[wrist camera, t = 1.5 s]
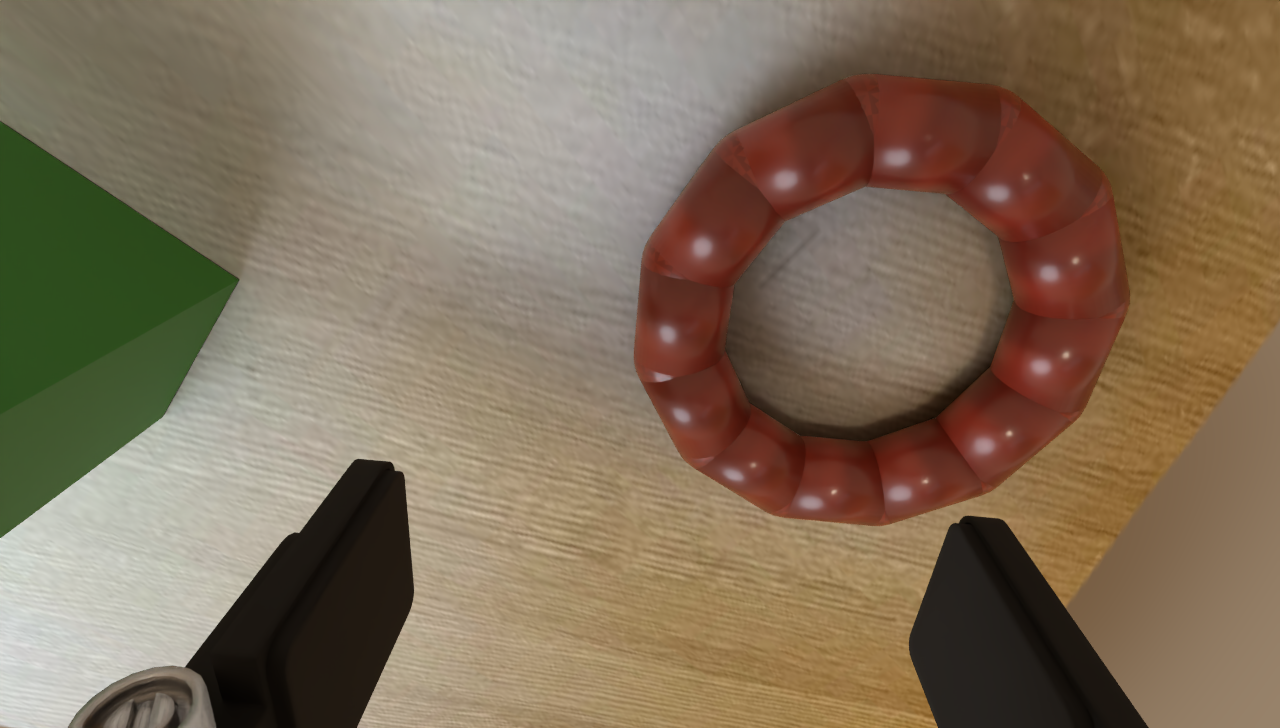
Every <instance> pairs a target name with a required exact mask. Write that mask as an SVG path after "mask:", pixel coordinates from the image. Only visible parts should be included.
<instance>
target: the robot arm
mask: <svg viewBox="0 0 1280 728" xmlns="http://www.w3.org/2000/svg"><path fill="white" fill-rule="evenodd" d="M413 596H414V584H413V572H412V560H411V548H410V537H409V525H408V513H407V502H406V490H405V479H404V474H403V472H401V471H395V469H394V466H393V464H392V463H391V462H386V461H375V460H364V459H357V460H355V461H354V462H353V463H352V464H351V465H350V466H349V468H348V469H347V470H346V472H345V473H344V474H343V476H342V477H341V478H340V480H339V481H338V482H337V484H336V485H335V486H334V488H333V489H332V490H331V492H330V493H329V494H328V496H327V497H326V498H325V500H324V501H323V502H322V504H321V505H320V506H319V508H318V509H317V510H316V512H315V513H314V514H313V516H312V517H311V518H310V520H309V521H308V522H307V524H306V525H305V526H304V528H303V529H302V530H301V532H300V533H293V534H290V535H288V536H287V537H286V538H285V539H284V540H283V541H282V542H281V544H280V545H279V546H278V547H277V549H276V550H275V551H274V553H273V554H272V555H271V556H270V558H269V559H268V560H267V562H266V563H265V564H264V566H263V567H262V568H261V569H260V571H259V572H258V573H257V575H256V576H255V577H254V578H253V580H252V581H251V582H250V584H249V585H248V586H247V588H246V589H245V590H244V591H243V593H242V594H241V595H240V597H239V598H238V599H237V600H236V602H235V603H234V604H233V606H232V607H231V608H230V609H229V611H228V612H227V613H226V615H225V616H224V617H223V619H222V620H221V621H220V622H219V624H218V625H217V626H216V628H215V629H214V630H213V631H212V633H211V634H210V635H209V637H208V638H207V639H206V641H205V642H204V643H203V644H202V646H201V647H200V648H199V650H198V651H197V652H196V653H195V655H194V656H193V657H192V659H191V660H190V661H189V662H188V664H187V665H186V666H185V668H184V667H178V666H164V667H154V668H150V669H147V670H143V671H140V672H137V673H133V674H131V675H129V676H127V677H125V678H123V679H121V680H119V681H117V682H115V683H112V684H111V685H109V686H108V687H107V688H105V689H104V690H102V691H101V692H99V693H98V694H97V695H95V696H94V697H92V698H91V699H90V700H89V701H88V702H87V703H86V704H85V705H84V706H83V707H82V708H81V709H80V710H79V711H78V712H77V713H76V715H75V716H74V718H73V720H72V721H71V723H70V725H69V726H68V728H357V726H358V724H359V722H360V719H361V717H362V715H363V713H364V711H365V708H366V706H367V704H368V702H369V700H370V697H371V695H372V693H373V691H374V689H375V687H376V684H377V682H378V680H379V678H380V676H381V673H382V671H383V669H384V667H385V665H386V662H387V660H388V658H389V656H390V654H391V651H392V649H393V647H394V645H395V643H396V640H397V638H398V636H399V634H400V632H401V629H402V627H403V625H404V623H405V621H406V618H407V616H408V614H409V612H410V609H411V606H412V602H413ZM909 651H910V656H911V659H912V662H913V665H914V667H915V670H916V672H917V675H918V677H919V680H920V682H921V685H922V688H923V690H924V693H925V695H926V698H927V700H928V703H929V705H930V708H931V711H932V713H933V716H934V718H935V721H936V723H937V726H938V728H1148V726H1147V725H1146V723H1145V722H1144V720H1143V719H1142V718H1141V716H1140V715H1139V713H1138V712H1137V710H1136V709H1135V708H1134V706H1133V705H1132V703H1131V702H1130V700H1129V699H1128V697H1127V696H1126V695H1125V693H1124V692H1123V690H1122V689H1121V687H1120V686H1119V685H1118V683H1117V682H1116V680H1115V679H1114V677H1113V676H1112V675H1111V673H1110V672H1109V670H1108V669H1107V667H1106V666H1105V664H1104V663H1103V662H1102V661H1101V659H1100V658H1099V656H1098V654H1097V653H1096V652H1095V650H1094V649H1093V647H1092V646H1091V644H1090V643H1089V641H1088V640H1087V639H1086V637H1085V636H1084V634H1083V633H1082V631H1081V630H1080V629H1079V627H1078V626H1077V624H1076V623H1075V621H1074V620H1073V619H1072V617H1071V616H1070V614H1069V613H1068V612H1067V610H1066V608H1065V607H1064V606H1063V604H1062V603H1061V601H1060V600H1059V598H1058V597H1057V596H1056V594H1055V593H1054V591H1053V590H1052V588H1051V587H1050V585H1049V584H1048V583H1047V581H1046V580H1045V578H1044V577H1043V575H1042V574H1041V573H1040V571H1039V570H1038V568H1037V567H1036V565H1035V564H1034V562H1033V561H1032V560H1031V558H1030V557H1029V555H1028V554H1027V552H1026V551H1025V550H1024V548H1023V547H1022V545H1021V544H1020V542H1019V541H1018V540H1017V538H1016V537H1015V535H1014V534H1013V532H1012V531H1011V529H1010V528H1009V527H1008V525H1007V524H1006V523H1005V522H1004V521H1003V520H1001V519H997V518H986V517H976V516H964V517H963V518H962V519H961V520H960V522H959V524H958V523H954V524H952V525H951V526H950V527H949V529H948V532H947V535H946V537H945V540H944V543H943V546H942V548H941V551H940V554H939V557H938V559H937V562H936V565H935V568H934V570H933V573H932V576H931V579H930V581H929V584H928V587H927V590H926V593H925V595H924V598H923V601H922V604H921V606H920V609H919V612H918V615H917V617H916V620H915V623H914V626H913V628H912V631H911V634H910V638H909Z"/></svg>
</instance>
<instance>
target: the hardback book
mask: <svg viewBox="0 0 1280 728" xmlns="http://www.w3.org/2000/svg"><path fill="white" fill-rule="evenodd" d="M238 281H239V279H237V278H236V277H234V276H232V275H231V274H229V273H228V272H226V271H225V270H223V269H222V268H220V267H219V266H217V265H216V264H214V263H213V262H211V261H210V260H208V259H207V258H205V257H204V256H202V255H201V254H199V253H198V252H196V251H195V250H193V249H192V248H190V247H189V246H187V245H186V244H184V243H183V242H181V241H180V240H178V239H177V238H175V237H174V236H172V235H171V234H169V233H168V232H166V231H165V230H163V229H162V228H160V227H159V226H157V225H156V224H154V223H153V222H151V221H150V220H148V219H147V218H145V217H144V216H142V215H141V214H139V213H137V212H136V211H134V210H133V209H131V208H130V207H128V206H127V205H125V204H124V203H122V202H121V201H119V200H118V199H116V198H115V197H113V196H112V195H110V194H109V193H107V192H106V191H104V190H103V189H101V188H100V187H98V186H97V185H95V184H94V183H92V182H91V181H89V180H88V179H86V178H85V177H83V176H82V175H80V174H79V173H77V172H76V171H74V170H73V169H71V168H70V167H68V166H67V165H65V164H64V163H62V162H61V161H59V160H58V159H56V158H55V157H53V156H52V155H50V154H49V153H47V152H46V151H44V150H42V149H41V148H39V147H38V146H36V145H35V144H33V143H32V142H30V141H29V140H27V139H26V138H24V137H23V136H21V135H20V134H18V133H17V132H15V131H14V130H12V129H11V128H9V127H8V126H6V125H5V124H3V123H2V122H0V538H1V537H3V536H4V535H5V534H7V533H8V532H9V531H11V530H12V529H13V528H15V527H16V526H17V525H19V524H20V523H21V522H23V521H24V520H25V519H27V518H28V517H29V516H31V515H32V514H33V513H35V512H36V511H37V510H39V509H40V508H41V507H43V506H44V505H45V504H47V503H48V502H49V501H51V500H52V499H53V498H55V497H56V496H57V495H59V494H60V493H61V492H63V491H64V490H65V489H67V488H68V487H69V486H71V485H72V484H73V483H75V482H76V481H78V480H79V479H80V478H82V477H83V476H84V475H86V474H87V473H88V472H90V471H91V470H92V469H94V468H95V467H96V466H98V465H99V464H100V463H102V462H103V461H104V460H106V459H107V458H108V457H110V456H111V455H112V454H114V453H115V452H116V451H118V450H119V449H120V448H122V447H123V446H124V445H126V444H127V443H128V442H130V441H131V440H132V439H134V438H135V437H136V436H138V435H139V434H140V433H142V432H143V431H144V430H146V429H147V428H148V427H150V426H151V425H152V424H154V423H155V422H156V421H158V420H159V419H160V418H162V417H163V415H164V413H165V412H166V410H167V408H168V406H169V404H170V403H171V401H172V399H173V397H174V395H175V394H176V392H177V390H178V388H179V386H180V385H181V383H182V381H183V379H184V378H185V376H186V374H187V372H188V370H189V369H190V367H191V365H192V363H193V361H194V360H195V358H196V356H197V354H198V352H199V351H200V349H201V347H202V345H203V344H204V342H205V340H206V338H207V336H208V335H209V333H210V331H211V329H212V327H213V326H214V324H215V322H216V320H217V318H218V317H219V315H220V313H221V311H222V310H223V308H224V306H225V304H226V302H227V301H228V299H229V297H230V295H231V293H232V292H233V290H234V288H235V286H236V284H237V283H238Z"/></svg>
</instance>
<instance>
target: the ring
mask: <svg viewBox="0 0 1280 728" xmlns="http://www.w3.org/2000/svg"><path fill="white" fill-rule="evenodd" d="M863 187H876V188H887V189H898V190H909V191H920V192H931V193H942V194H946V195H947V196H948V197H950V198H951V199H952V200H953V201H955V202H956V203H957V204H958V205H960V206H961V207H962V208H963V209H965V210H966V211H967V212H968V213H970V214H971V215H972V216H973V217H975V218H976V219H977V220H978V221H979V222H981V223H982V224H983V225H984V226H986V227H987V228H988V229H989V230H991V231H992V232H993V233H994V234H996V235H997V236H998V238H999V242H1000V246H1001V250H1002V254H1003V258H1004V262H1005V266H1006V270H1007V274H1008V278H1009V282H1010V286H1011V290H1012V294H1013V297H1014V301H1013V304H1012V307H1011V310H1010V313H1009V316H1008V318H1007V321H1006V324H1005V327H1004V330H1003V333H1002V335H1001V338H1000V341H999V344H998V347H997V350H996V352H995V355H994V358H993V361H992V364H991V366H990V367H989V368H988V369H987V370H986V371H985V372H984V373H983V374H982V375H981V376H980V377H979V378H978V379H977V380H976V381H974V382H973V383H972V384H971V385H970V386H969V387H968V388H967V389H966V390H965V391H964V392H963V393H962V394H961V395H960V396H958V397H957V398H956V399H955V400H954V401H953V402H952V403H951V404H950V405H949V406H948V407H947V408H946V409H945V410H944V411H943V412H941V413H940V414H939V415H938V416H937V417H936V418H933V419H930V420H928V421H925V422H922V423H919V424H916V425H913V426H910V427H907V428H904V429H902V430H899V431H896V432H893V433H890V434H887V435H884V436H881V437H878V438H875V439H873V440H870V441H867V442H865V441H855V440H844V439H833V438H823V437H812V436H801V435H798V434H797V433H795V432H793V431H792V430H790V429H789V428H787V427H786V426H784V425H783V424H781V423H780V422H778V421H777V420H775V419H774V418H772V417H770V416H769V415H767V414H766V413H764V412H763V411H761V410H760V409H758V408H757V407H755V406H754V405H752V404H751V403H749V401H748V399H747V397H746V395H745V393H744V390H743V388H742V386H741V384H740V382H739V380H738V377H737V375H736V373H735V371H734V369H733V366H732V364H731V362H730V360H729V358H728V356H727V353H726V351H725V345H726V338H727V332H728V325H729V318H730V312H731V305H732V299H733V292H734V286H735V283H736V282H737V281H738V279H739V278H740V277H741V276H742V274H743V273H744V272H745V271H746V269H747V268H748V267H749V266H750V264H751V263H752V262H753V261H754V259H755V258H756V257H757V256H758V254H759V253H760V252H761V251H762V249H763V248H764V247H765V246H766V245H767V243H768V242H769V241H770V240H771V238H772V237H773V236H774V235H775V233H776V232H777V231H778V230H779V228H780V227H781V226H782V225H783V223H784V222H785V221H787V220H789V219H792V218H794V217H796V216H799V215H801V214H803V213H805V212H808V211H810V210H812V209H815V208H817V207H819V206H822V205H824V204H826V203H828V202H831V201H833V200H835V199H838V198H840V197H842V196H845V195H847V194H849V193H851V192H854V191H856V190H858V189H861V188H863ZM1129 304H1130V291H1129V285H1128V279H1127V273H1126V267H1125V262H1124V256H1123V250H1122V244H1121V238H1120V233H1119V227H1118V221H1117V215H1116V209H1115V204H1114V198H1113V192H1112V188H1111V185H1110V182H1109V180H1108V178H1107V176H1106V175H1105V174H1104V172H1103V171H1102V170H1101V169H1100V168H1099V167H1098V166H1097V165H1096V164H1095V163H1094V162H1092V161H1091V160H1090V159H1089V158H1088V157H1087V156H1086V155H1084V154H1083V153H1082V152H1081V151H1080V150H1079V149H1078V148H1077V147H1075V146H1074V145H1073V144H1072V143H1071V142H1070V141H1069V140H1067V139H1066V138H1065V137H1064V136H1063V135H1062V134H1061V133H1059V132H1058V131H1057V130H1056V129H1055V128H1054V127H1053V126H1051V125H1050V124H1049V123H1048V122H1047V121H1046V120H1045V119H1043V118H1042V117H1041V116H1040V115H1039V114H1038V113H1037V112H1035V111H1034V110H1033V109H1032V108H1031V107H1030V106H1029V105H1027V104H1026V103H1025V102H1024V101H1023V100H1022V99H1021V98H1019V97H1018V96H1017V95H1016V94H1014V93H1013V92H1011V91H1009V90H1007V89H1005V88H1002V87H1000V86H997V85H990V84H981V83H970V82H958V81H947V80H936V79H925V78H914V77H903V76H892V75H881V74H859V75H853V76H850V77H847V78H845V79H842V80H840V81H838V82H835V83H833V84H831V85H829V86H827V87H825V88H823V89H821V90H819V91H817V92H814V93H812V94H810V95H808V96H806V97H804V98H802V99H800V100H798V101H796V102H793V103H791V104H789V105H787V106H785V107H783V108H781V109H779V110H777V111H775V112H772V113H770V114H768V115H766V116H764V117H762V118H760V119H758V120H756V121H754V122H751V123H749V124H747V125H745V126H743V127H741V128H739V129H737V130H735V131H733V132H731V133H729V134H728V135H726V136H725V137H724V138H723V139H721V140H720V141H719V142H718V143H717V145H716V146H715V147H714V148H713V150H712V151H711V152H710V154H709V155H708V157H707V158H706V159H705V161H704V162H703V163H702V165H701V166H700V168H699V169H698V170H697V172H696V173H695V175H694V176H693V177H692V179H691V180H690V182H689V183H688V184H687V186H686V187H685V189H684V190H683V191H682V193H681V194H680V196H679V197H678V198H677V200H676V201H675V203H674V204H673V205H672V207H671V208H670V210H669V211H668V212H667V214H666V215H665V217H664V218H663V219H662V221H661V222H660V224H659V225H658V226H657V228H656V229H655V230H654V232H653V233H652V235H651V236H650V238H649V240H648V241H647V243H646V245H645V248H644V251H643V254H642V261H641V273H640V285H639V297H638V308H637V320H636V332H635V344H634V364H635V369H636V372H637V374H638V376H639V378H640V380H641V382H642V384H643V386H644V388H645V390H646V392H647V394H648V395H649V397H650V399H651V401H652V403H653V405H654V407H655V409H656V411H657V413H658V414H659V416H660V418H661V420H662V422H663V424H664V426H665V428H666V430H667V431H668V433H669V435H670V437H671V439H672V441H673V443H674V445H675V447H676V448H677V450H678V452H679V453H680V455H681V457H682V458H683V459H684V460H685V461H686V462H687V463H688V464H689V465H691V466H692V467H694V468H695V469H697V470H698V471H700V472H702V473H703V474H705V475H707V476H708V477H710V478H711V479H713V480H715V481H716V482H718V483H720V484H721V485H723V486H724V487H726V488H728V489H729V490H731V491H733V492H734V493H736V494H738V495H739V496H741V497H742V498H744V499H746V500H747V501H749V502H751V503H752V504H754V505H755V506H757V507H759V508H760V509H762V510H764V511H765V512H767V513H769V514H772V515H774V516H779V517H784V518H794V519H805V520H815V521H826V522H836V523H847V524H858V525H868V526H884V525H888V524H892V523H895V522H898V521H902V520H905V519H908V518H911V517H914V516H917V515H921V514H924V513H927V512H930V511H933V510H937V509H940V508H943V507H946V506H949V505H952V504H956V503H959V502H962V501H965V500H968V499H972V498H975V497H978V496H981V495H984V494H986V493H989V492H991V491H992V490H994V489H995V488H996V487H998V486H999V485H1000V484H1001V483H1002V482H1004V481H1005V480H1006V479H1007V478H1008V477H1010V476H1011V475H1012V474H1013V473H1014V472H1016V471H1017V470H1018V469H1019V468H1020V467H1021V466H1023V465H1024V464H1025V463H1026V462H1027V461H1029V460H1030V459H1031V458H1032V457H1033V456H1034V455H1036V454H1037V453H1038V452H1039V451H1040V450H1042V449H1043V448H1044V447H1045V446H1046V445H1047V444H1049V443H1050V442H1051V441H1052V440H1053V439H1055V438H1056V437H1057V436H1058V435H1059V434H1061V433H1062V432H1063V431H1064V430H1065V429H1066V428H1068V427H1069V426H1070V425H1071V424H1072V423H1074V422H1075V421H1076V420H1077V419H1078V418H1079V417H1080V415H1081V414H1082V412H1083V411H1084V409H1085V407H1086V405H1087V403H1088V401H1089V399H1090V396H1091V394H1092V392H1093V389H1094V387H1095V385H1096V383H1097V380H1098V378H1099V376H1100V373H1101V371H1102V369H1103V367H1104V364H1105V362H1106V360H1107V357H1108V355H1109V353H1110V351H1111V348H1112V346H1113V344H1114V341H1115V339H1116V337H1117V335H1118V332H1119V330H1120V328H1121V325H1122V323H1123V321H1124V318H1125V316H1126V314H1127V311H1128V307H1129Z"/></svg>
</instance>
